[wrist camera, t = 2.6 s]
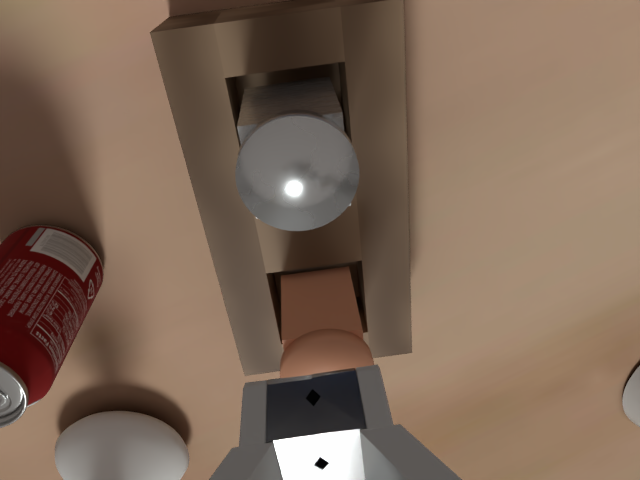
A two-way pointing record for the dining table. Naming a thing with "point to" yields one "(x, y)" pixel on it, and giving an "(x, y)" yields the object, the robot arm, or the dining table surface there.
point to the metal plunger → (295, 155)
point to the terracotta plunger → (321, 324)
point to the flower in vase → (120, 448)
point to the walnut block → (359, 124)
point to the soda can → (41, 309)
